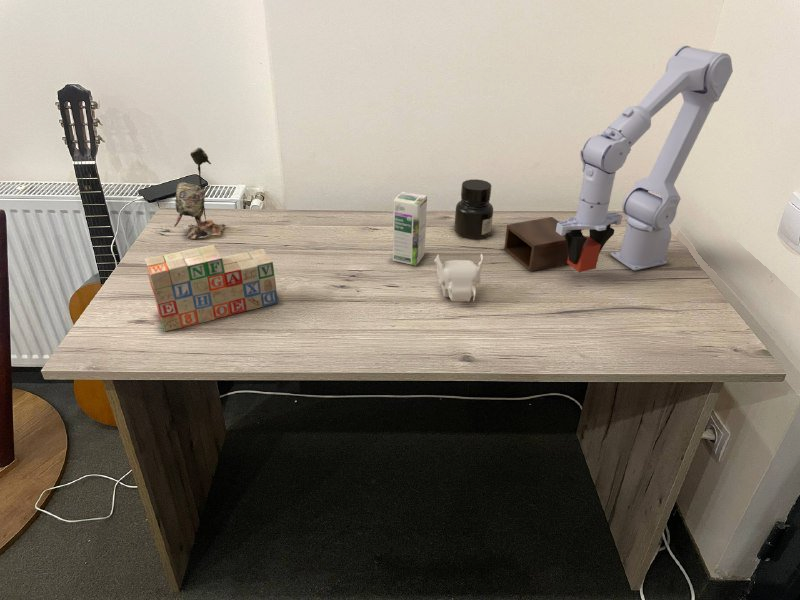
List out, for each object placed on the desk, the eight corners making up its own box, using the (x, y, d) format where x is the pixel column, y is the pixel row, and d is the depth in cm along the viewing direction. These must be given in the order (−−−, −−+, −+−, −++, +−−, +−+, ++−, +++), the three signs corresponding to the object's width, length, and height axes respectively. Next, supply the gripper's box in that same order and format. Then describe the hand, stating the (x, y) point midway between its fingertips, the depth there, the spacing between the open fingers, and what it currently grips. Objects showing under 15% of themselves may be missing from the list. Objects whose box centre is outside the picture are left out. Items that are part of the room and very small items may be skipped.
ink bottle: (493, 241, 141) (498, 193, 134) (455, 240, 141) (459, 192, 134) (488, 223, 149) (493, 177, 142) (452, 222, 149) (456, 176, 143)
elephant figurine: (437, 312, 115) (439, 272, 110) (431, 280, 125) (433, 242, 120) (486, 312, 115) (491, 271, 110) (476, 280, 125) (480, 242, 121)
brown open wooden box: (547, 241, 141) (552, 216, 138) (576, 262, 133) (581, 236, 129) (503, 249, 137) (506, 224, 134) (530, 271, 129) (534, 245, 125)
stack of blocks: (268, 289, 121) (262, 234, 114) (278, 304, 116) (272, 247, 110) (158, 315, 113) (143, 257, 106) (163, 332, 108) (149, 273, 101)
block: (583, 259, 127) (587, 235, 124) (595, 268, 124) (601, 244, 121) (566, 263, 126) (571, 239, 123) (579, 272, 123) (583, 248, 120)
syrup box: (391, 261, 132) (392, 199, 124) (401, 250, 136) (403, 189, 128) (416, 266, 130) (418, 204, 122) (425, 254, 134) (428, 194, 127)
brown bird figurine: (184, 224, 146) (169, 143, 135) (230, 226, 145) (218, 145, 134) (171, 239, 139) (153, 155, 128) (219, 241, 138) (205, 157, 127)
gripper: (576, 212, 111) (564, 275, 119) (638, 201, 116) (623, 262, 124) (554, 198, 117) (544, 259, 124) (614, 188, 122) (601, 247, 129)
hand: (582, 259), depth 124 cm, fingers closed on block, 4 cm apart
